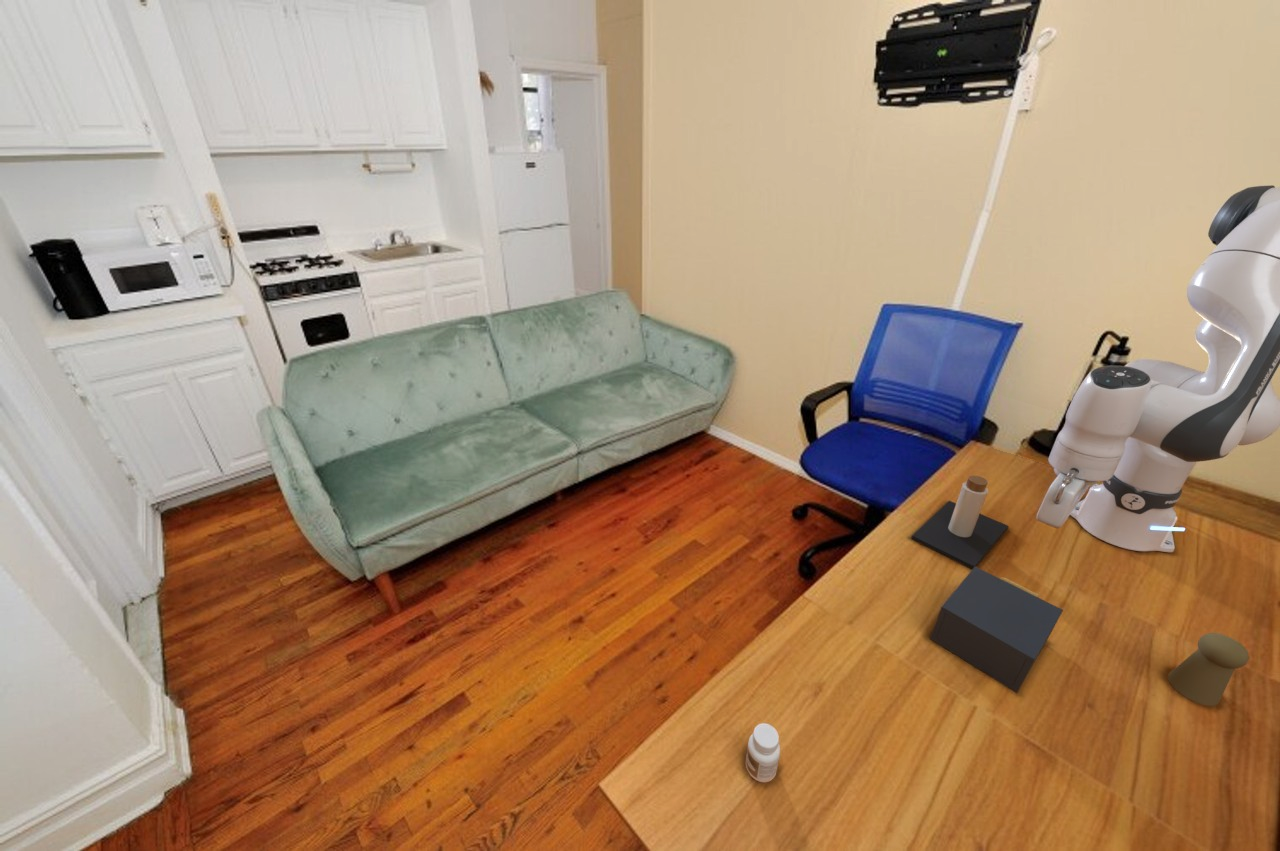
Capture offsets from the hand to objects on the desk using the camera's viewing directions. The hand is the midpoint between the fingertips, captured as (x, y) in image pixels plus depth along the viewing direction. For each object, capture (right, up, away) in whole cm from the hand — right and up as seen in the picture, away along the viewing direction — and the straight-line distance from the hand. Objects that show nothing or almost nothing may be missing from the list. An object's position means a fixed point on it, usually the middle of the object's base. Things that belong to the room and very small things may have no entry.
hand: (1055, 521), depth 93 cm
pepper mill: (-3, -6, +22) cm, 23 cm away
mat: (-3, -7, +23) cm, 24 cm away
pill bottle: (-60, -32, -20) cm, 70 cm away
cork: (+13, -25, -11) cm, 30 cm away
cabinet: (-14, -21, -3) cm, 26 cm away
